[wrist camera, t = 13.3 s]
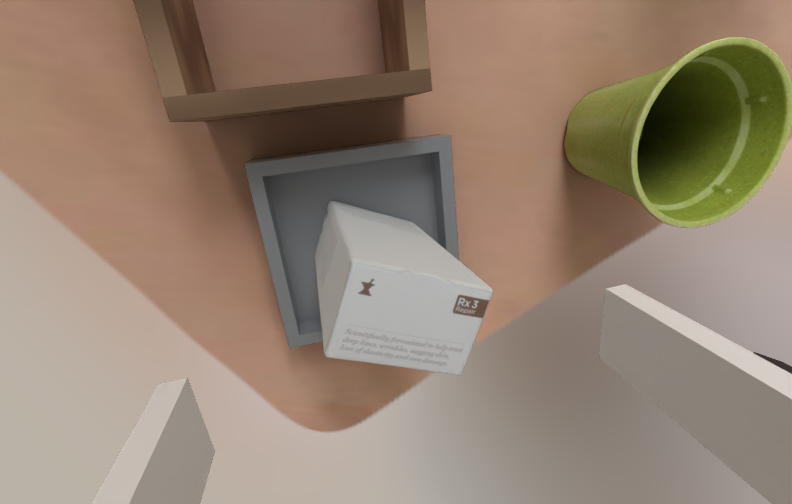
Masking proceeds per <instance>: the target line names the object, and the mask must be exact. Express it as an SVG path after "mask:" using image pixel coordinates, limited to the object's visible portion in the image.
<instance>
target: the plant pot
mask: <svg viewBox="0 0 792 504" xmlns="http://www.w3.org/2000/svg"><path fill="white" fill-rule="evenodd" d="M791 123H792V84H791V80H790V77H789V74H788V72H787V70H786V68H785V66H784V64H783V63H782V61H781V59H780V58H779V56H778V55H777V54H776V53H775V52H774V51H773V50H771V49H770V48H769V47H767V46H766V45H764V44H763V43H761V42H759V41H756V40H753V39H750V38H744V37H730V38H724V39H719V40H715V41H712V42H709V43H706V44H704V45H701V46H699V47H697V48H696V49H694V50H692V51H690V52H689V53H687V54H686V55H684V56H683V57H682V58H680V59H679V60H678V61H677V62H675V63H673V64H671V65H670V66H668V67H666V68H665V69H662V70H659V71H656V72H653V73H649V74H646V75H643V76H639V77H636V78H633V79H630V80H626V81H623V82H620V83H617V84H613V85H610V86H607V87H603V88H600V89H598V90H595V91H593V92H591V93H590V94H588V95H587V96H585V97H584V98H583V99H582V100H581V101H580V102H579V103H578V104H577V105H576V107H575V108H574V109H573V111H572V113H571V114H570V116H569V119H568V122H567V131H566V136H565V141H564V149H565V153H566V156H567V159H568V161H569V162H570V164H571V165H572V166H573V167H574V168H575V169H576V170H577V171H578V172H580V173H581V174H583V175H586V176H588V177H590V178H592V179H594V180H597V181H599V182H602V183H604V184H606V185H608V186H610V187H613V188H615V189H617V190H619V191H621V192H624V193H626V194H628V195H630V196H632V197H634V198H635V199H636V200H637V201H638V202H639V203H640V204H641V205H642V206H643V207H644V209H645V210H646V211H647V212H649V213H650V214H651V215H652V216H653V217H655V218H656V219H658V220H660V221H662V222H664V223H666V224H669V225H672V226H676V227H681V228H697V227H703V226H707V225H710V224H713V223H716V222H718V221H720V220H722V219H724V218H726V217H728V216H730V215H732V214H733V213H735V212H736V211H738V210H739V209H740V208H742V207H743V206H744V205H745V204H746V203H748V202H749V200H751V199H752V198H753V197H754V196H755V195H756V194H757V193H758V192H759V190H760V189H761V188H762V187H763V186H764V184H765V183H766V181H767V180H768V178H769V177H770V176H771V174H772V172H773V171H774V169H775V167H776V165H777V164H778V162H779V160H780V157H781V155H782V153H783V150H784V148H785V146H786V143H787V140H788V137H789V133H790V129H791Z"/></svg>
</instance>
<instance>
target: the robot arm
mask: <svg viewBox="0 0 792 504" xmlns="http://www.w3.org/2000/svg"><path fill="white" fill-rule="evenodd" d="M599 358H600V359H601V360H603V361H604V362H605V363H606V364H608V366H610V367H611V368H612V369H613V370H614V371H616V372H617V373H618V374H619V375H620V376H622V377H623V378H624V379H625V380H626V381H627V382H629V383H630V384H631V385H632V386H634V387H635V388H636V389H637V390H638V391H639V392H640V393H642V394H643V395H644V396H645V397H646V398H647V399H649V400H650V401H651V402H652V403H653V404H655V405H656V406H657V407H658V408H660V410H662V411H663V412H664V413H665V414H666V415H668V416H669V417H670V418H671V419H672V420H674V421H675V422H676V423H677V424H678V425H679V426H681V427H682V428H683V429H684V430H685V431H687V432H688V433H689V434H690V435H691V436H692V437H694V438H695V439H696V440H697V441H698V442H699V443H701V444H702V445H703V446H704V447H705V448H707V449H708V450H709V451H710V452H711V453H712V454H714V455H715V456H716V457H717V458H718V459H720V460H721V461H722V462H723V463H724V464H725V465H727V466H728V467H729V468H730V469H731V470H733V471H734V472H735V473H736V474H737V475H738V476H740V477H741V478H742V479H743V480H744V481H746V482H747V483H748V484H749V485H750V486H751V487H753V488H754V489H755V490H756V491H758V492H759V493H760V494H761V495H762V496H763V497H765V498H766V499H767V500H768V501H769V502H770V503H772V504H792V367H791V366H789V365H787V364H785V363H783V362H781V361H778V360H775V359H772V358H769V357H766V356H764V355H761V354H758V353H755V352H754V353H752V352H750V351H748V350H746V349H745V348H743V347H741V346H739V345H737V344H735V343H734V342H732V341H730V340H728V339H726V338H724V337H722V336H721V335H718V334H717V333H715V332H713V331H711V330H710V329H708V328H706V327H704V326H702V325H700V324H698V323H696V322H695V321H693V320H691V319H689V318H687V317H686V316H684V315H682V314H680V313H678V312H676V311H674V310H673V309H671V308H669V307H667V306H665V305H663V304H662V303H659V302H658V301H656V300H654V299H652V298H650V297H649V296H647V295H645V294H643V293H641V292H639V291H638V290H635V289H634V288H632V287H630V286H628V285H626V284H624V285H619V286H615V287H610V288H606V289H605V298H604V311H603V322H602V332H601V344H600V355H599ZM214 452H215V450H214V448H213V445H212V442H211V440H210V437H209V434H208V431H207V428H206V426H205V424H204V420H203V418H202V415H201V412H200V410H199V407H198V404H197V402H196V399H195V396H194V394H193V391H192V389H191V386H190V383H189V380H188V378H184V379H179V380H174V381H169V382H165V383H160V384H158V386H157V387H156V389H155V391H154V393H153V395H152V396H151V398H150V400H149V402H148V403H147V405H146V407H145V409H144V410H143V412H142V414H141V416H140V418H139V419H138V421H137V423H136V425H135V426H134V428H133V430H132V432H131V434H130V436H129V437H128V439H127V441H126V443H125V444H124V446H123V448H122V450H121V451H120V453H119V455H118V457H117V459H116V461H115V462H114V464H113V466H112V468H111V469H110V471H109V473H108V475H107V476H106V478H105V480H104V482H103V483H102V485H101V487H100V489H99V491H98V492H97V494H96V496H95V498H94V499H93V501H92V503H91V504H200V502H201V499H202V495H203V491H204V488H205V484H206V481H207V477H208V474H209V470H210V466H211V463H212V460H213V456H214Z"/></svg>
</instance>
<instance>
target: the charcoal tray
mask: <svg viewBox="0 0 792 504" xmlns="http://www.w3.org/2000/svg"><path fill="white" fill-rule="evenodd" d="M244 167H245V171H246V175H247V179H248V183H249V187H250V191H251V195H252V199H253V203H254V207H255V211H256V215H257V219H258V223H259V227H260V232H261V236H262V240H263V244H264V248H265V252H266V256H267V260H268V264H269V268H270V272H271V276H272V280H273V284H274V288H275V292H276V296H277V300H278V304H279V309H280V313H281V317H282V321H283V325H284V329H285V333H286V337H287V341H288V345H289V349H290V348H295V347H300V346H305V345H309V344H314V343H319V342H323V334H322V326H321V316H320V306H319V295H318V285H317V275H316V263H315V252H316V248H317V244H318V241H319V237H320V233H321V229H322V225H323V222H324V218H325V214H326V211H327V207H328V203H329V201H336V202H340V203H344V204H347V205H351V206H355V207H359V208H362V209H366V210H370V211H373V212H377V213H381V214H385V215H388V216H392V217H396V218H399V219H403V220H407V221H411V222H413V223H415V224H416V225H417V226H418V227H419V228H420V229H422V230H423V231H424V232H425V233H426V234H427V235H429V236H430V237H431V238H432V239H434V240H435V241H436V242H437V243H438V244H439V245H441V246H442V247H443V248H444V249H445V250H447V251H448V252H449V253H450V254H451V255H453V256H454V257H455V258H456V259H457V260H459V253H458V237H457V222H456V207H455V192H454V176H453V161H452V146H451V136H447V135H439V134H438V135H431V136H423V137H416V138H409V139H401V140H394V141H387V142H379V143H372V144H365V145H357V146H350V147H343V148H335V149H328V150H321V151H313V152H306V153H299V154H291V155H284V156H277V157H269V158H262V159H255V160H250V161H248V162H247V163H245V164H244Z"/></svg>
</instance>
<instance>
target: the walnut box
mask: <svg viewBox="0 0 792 504" xmlns="http://www.w3.org/2000/svg"><path fill="white" fill-rule="evenodd" d="M133 1H134V4H135V8H136V11H137V14H138V18H139V21H140V24H141V28H142V31H143V34H144V38H145V41H146V44H147V48H148V51H149V54H150V58H151V61H152V64H153V68H154V71H155V74H156V78H157V81H158V84H159V88H160V91H161V94H162V98H163V101H164V104H165V108H166V111H167V114H168V118H169V121H170V122H195V121H212V120H220V119H229V118H237V117H245V116H254V115H262V114H270V113H279V112H287V111H295V110H304V109H312V108H320V107H329V106H337V105H345V104H354V103H362V102H370V101H379V100H387V99H395V98H404V97H408V96H412V95H417V94H421V93H425V92H429V91H432V86H431V73H430V61H429V48H428V35H427V22H426V10H425V0H378V6H379V15H380V23H381V32H382V41H383V50H384V58H385V67H386V73H382V74H373V75H364V76H355V77H345V78H336V79H327V80H318V81H309V82H300V83H291V84H282V85H272V86H263V87H254V88H245V89H236V90H227V91H218V92H216V91H215V87H214V83H213V79H212V76H211V72H210V68H209V64H208V60H207V56H206V52H205V48H204V44H203V40H202V36H201V32H200V29H199V25H198V21H197V17H196V13H195V9H194V5H193V1H192V0H133Z"/></svg>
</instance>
